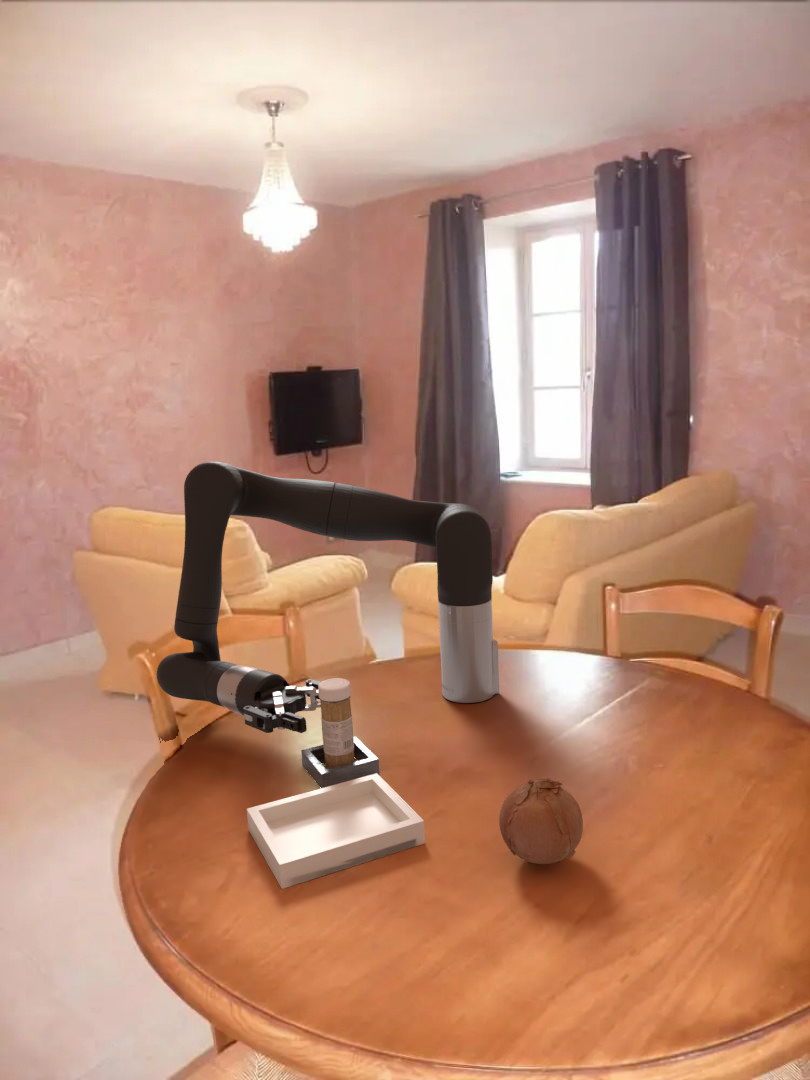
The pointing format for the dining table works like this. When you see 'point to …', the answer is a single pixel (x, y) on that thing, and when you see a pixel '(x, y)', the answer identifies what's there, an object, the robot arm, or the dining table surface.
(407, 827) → the plastic tray
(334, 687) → the sprinkles bottle
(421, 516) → the robot arm
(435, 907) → the dining table surface
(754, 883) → the dining table surface
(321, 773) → the metal collar
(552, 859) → the onion
